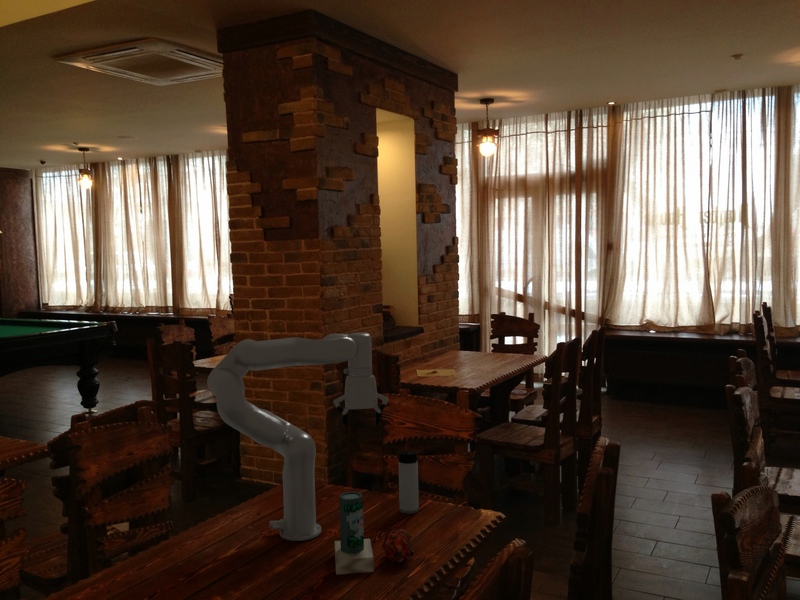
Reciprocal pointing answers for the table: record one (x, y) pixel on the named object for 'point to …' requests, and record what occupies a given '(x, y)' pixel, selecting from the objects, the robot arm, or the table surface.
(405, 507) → the travel mug
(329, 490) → the table surface
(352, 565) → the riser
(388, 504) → the table surface
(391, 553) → the dragon fruit
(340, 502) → the can
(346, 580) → the table surface
